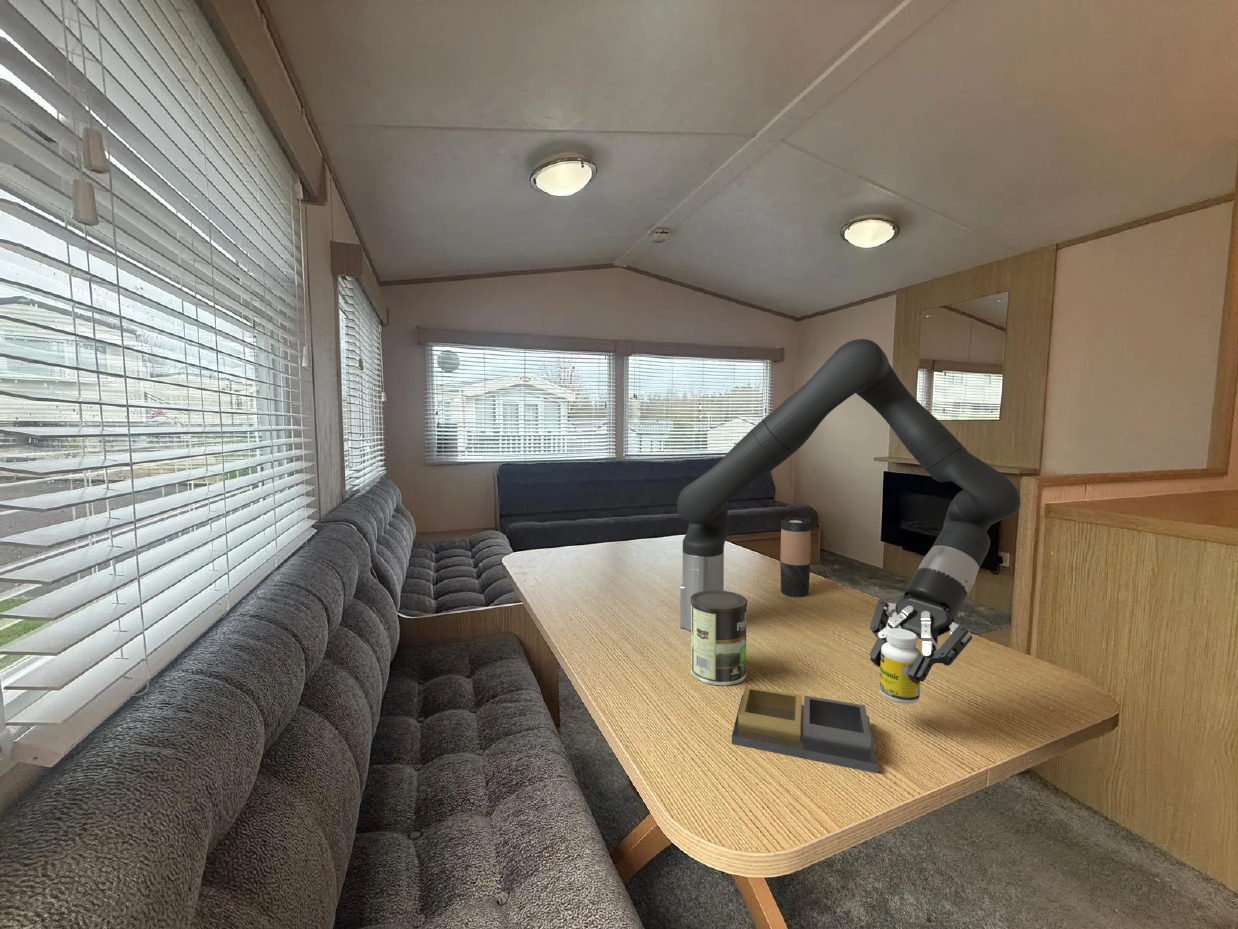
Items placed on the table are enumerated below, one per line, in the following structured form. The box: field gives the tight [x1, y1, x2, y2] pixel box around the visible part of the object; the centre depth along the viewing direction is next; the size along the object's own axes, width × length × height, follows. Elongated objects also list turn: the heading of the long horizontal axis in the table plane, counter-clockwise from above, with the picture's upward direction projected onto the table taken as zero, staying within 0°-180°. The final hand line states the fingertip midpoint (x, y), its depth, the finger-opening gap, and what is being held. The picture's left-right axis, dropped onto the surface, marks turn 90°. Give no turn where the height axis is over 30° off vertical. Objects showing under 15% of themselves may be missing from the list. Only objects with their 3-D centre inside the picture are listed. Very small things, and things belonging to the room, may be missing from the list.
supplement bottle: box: [879, 628, 922, 705], centre depth 79 cm, size 5×5×10 cm
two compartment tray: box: [731, 685, 879, 774], centre depth 77 cm, size 19×12×4 cm, turn 70°
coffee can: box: [690, 590, 748, 686], centre depth 96 cm, size 10×10×14 cm
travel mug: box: [779, 517, 812, 598], centre depth 140 cm, size 8×8×20 cm
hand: (893, 671), depth 78 cm, fingers closed on supplement bottle, 5 cm apart
